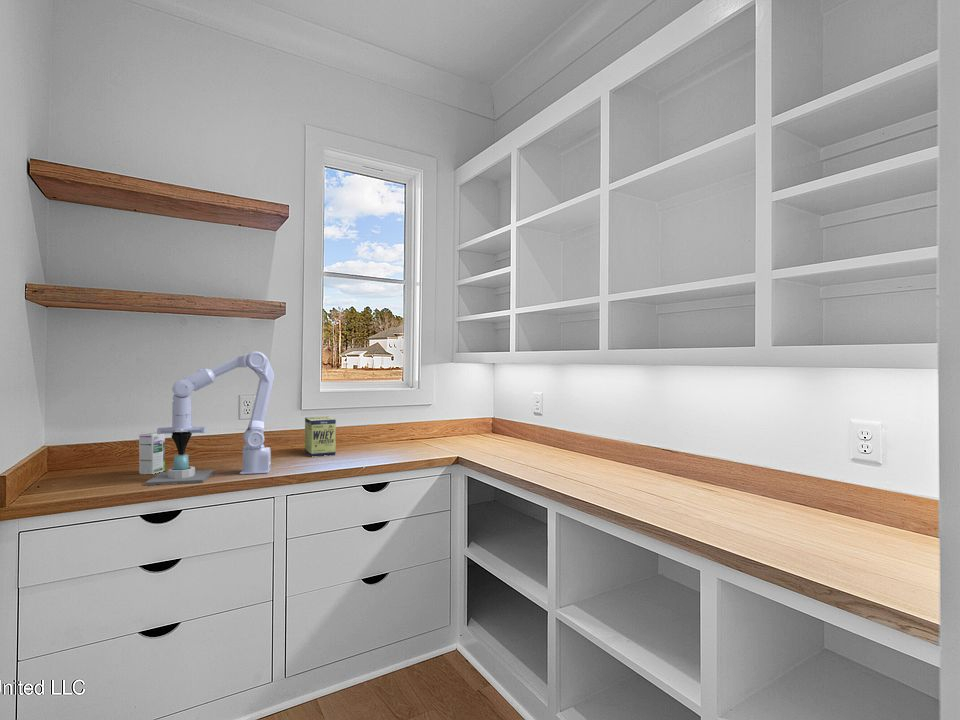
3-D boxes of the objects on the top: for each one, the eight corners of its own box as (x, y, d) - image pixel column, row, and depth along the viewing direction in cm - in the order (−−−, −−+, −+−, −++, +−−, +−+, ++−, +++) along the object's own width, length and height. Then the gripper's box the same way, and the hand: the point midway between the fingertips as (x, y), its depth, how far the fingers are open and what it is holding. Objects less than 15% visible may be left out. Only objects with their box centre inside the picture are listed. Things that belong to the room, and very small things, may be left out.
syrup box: (152, 474, 182) (152, 434, 182) (138, 474, 184) (138, 433, 184) (165, 471, 188) (165, 431, 188) (151, 470, 189) (152, 431, 189)
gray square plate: (214, 472, 187) (214, 463, 187) (202, 482, 171) (202, 472, 171) (161, 475, 182) (161, 465, 182) (144, 485, 167) (144, 474, 167)
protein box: (311, 457, 217) (311, 420, 217) (304, 451, 231) (304, 417, 231) (336, 455, 222) (336, 419, 222) (327, 449, 236) (328, 416, 236)
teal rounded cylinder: (189, 474, 179) (189, 454, 179) (186, 476, 175) (186, 456, 175) (175, 475, 178) (175, 454, 178) (172, 477, 174) (172, 457, 174)
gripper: (154, 416, 171) (153, 457, 171) (202, 415, 175) (201, 455, 175) (161, 414, 178) (160, 453, 178) (207, 413, 181) (207, 451, 181)
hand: (181, 454), depth 177 cm, fingers closed
